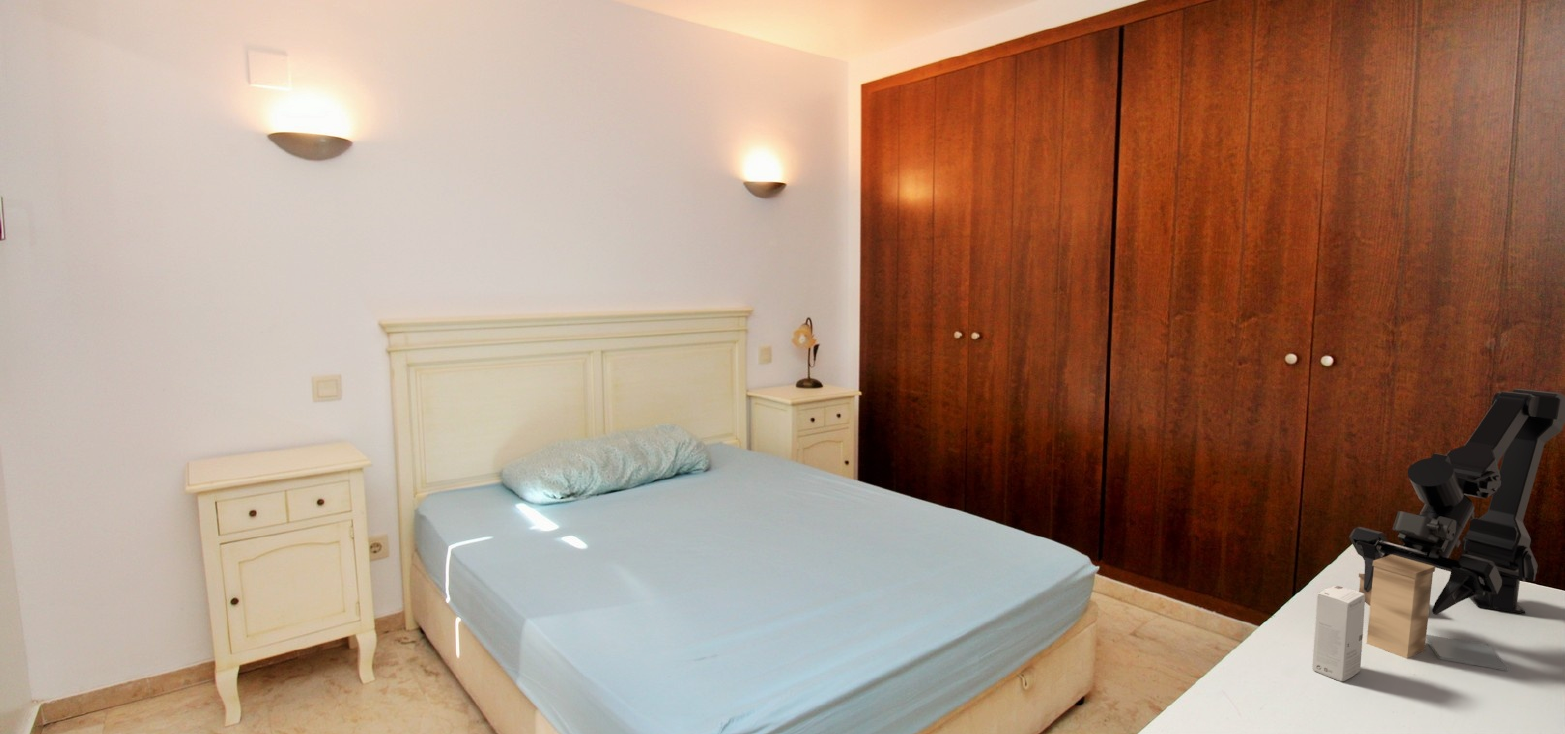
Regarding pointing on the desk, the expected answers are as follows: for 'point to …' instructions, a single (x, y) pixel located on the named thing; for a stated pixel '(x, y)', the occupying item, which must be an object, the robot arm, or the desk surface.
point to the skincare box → (1338, 633)
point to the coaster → (1465, 652)
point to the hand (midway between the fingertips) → (1398, 601)
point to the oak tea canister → (1399, 605)
